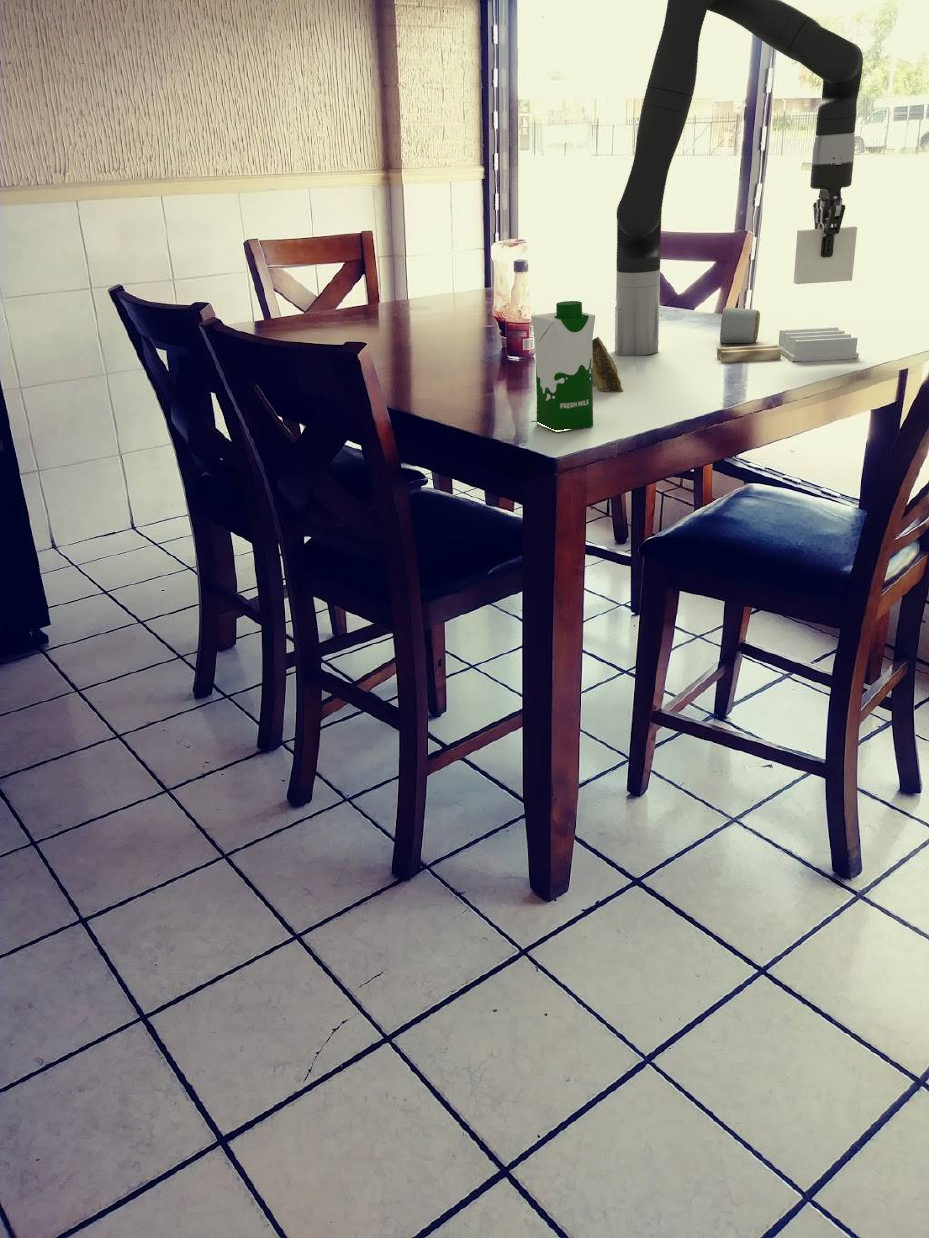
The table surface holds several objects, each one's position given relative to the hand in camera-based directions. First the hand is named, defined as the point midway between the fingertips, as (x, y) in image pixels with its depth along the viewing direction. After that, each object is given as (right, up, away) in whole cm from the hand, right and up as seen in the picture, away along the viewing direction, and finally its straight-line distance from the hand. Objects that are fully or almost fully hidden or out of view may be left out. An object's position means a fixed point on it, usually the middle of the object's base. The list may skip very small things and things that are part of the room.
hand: (824, 256), depth 195 cm
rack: (+1, -17, +8) cm, 19 cm away
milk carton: (-55, -40, -31) cm, 75 cm away
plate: (0, -4, +2) cm, 5 cm away
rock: (-45, -28, -7) cm, 53 cm away
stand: (-13, -18, +8) cm, 24 cm away
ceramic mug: (-10, -10, +26) cm, 29 cm away
